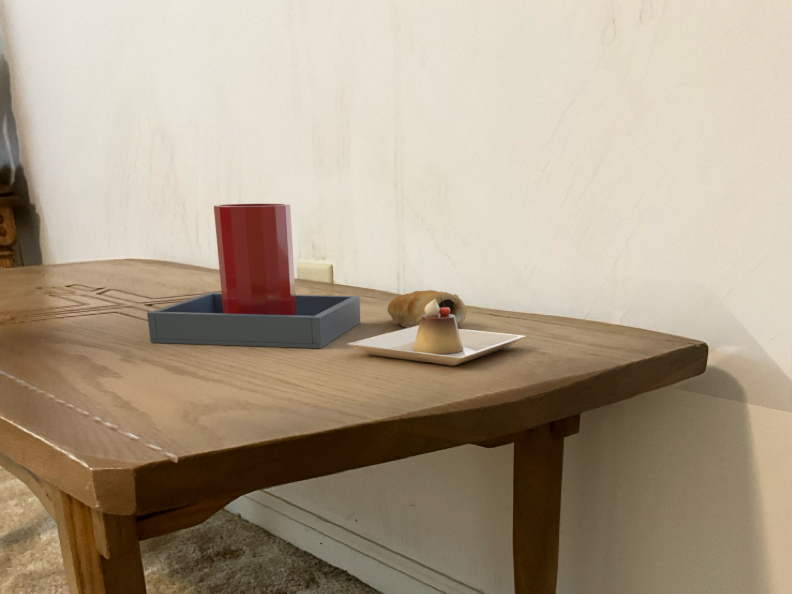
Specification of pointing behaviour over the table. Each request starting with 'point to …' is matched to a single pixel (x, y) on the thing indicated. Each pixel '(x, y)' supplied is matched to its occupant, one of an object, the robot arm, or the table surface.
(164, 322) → the serving tray
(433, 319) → the dessert
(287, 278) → the cup
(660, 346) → the table surface
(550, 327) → the table surface
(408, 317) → the pastry
